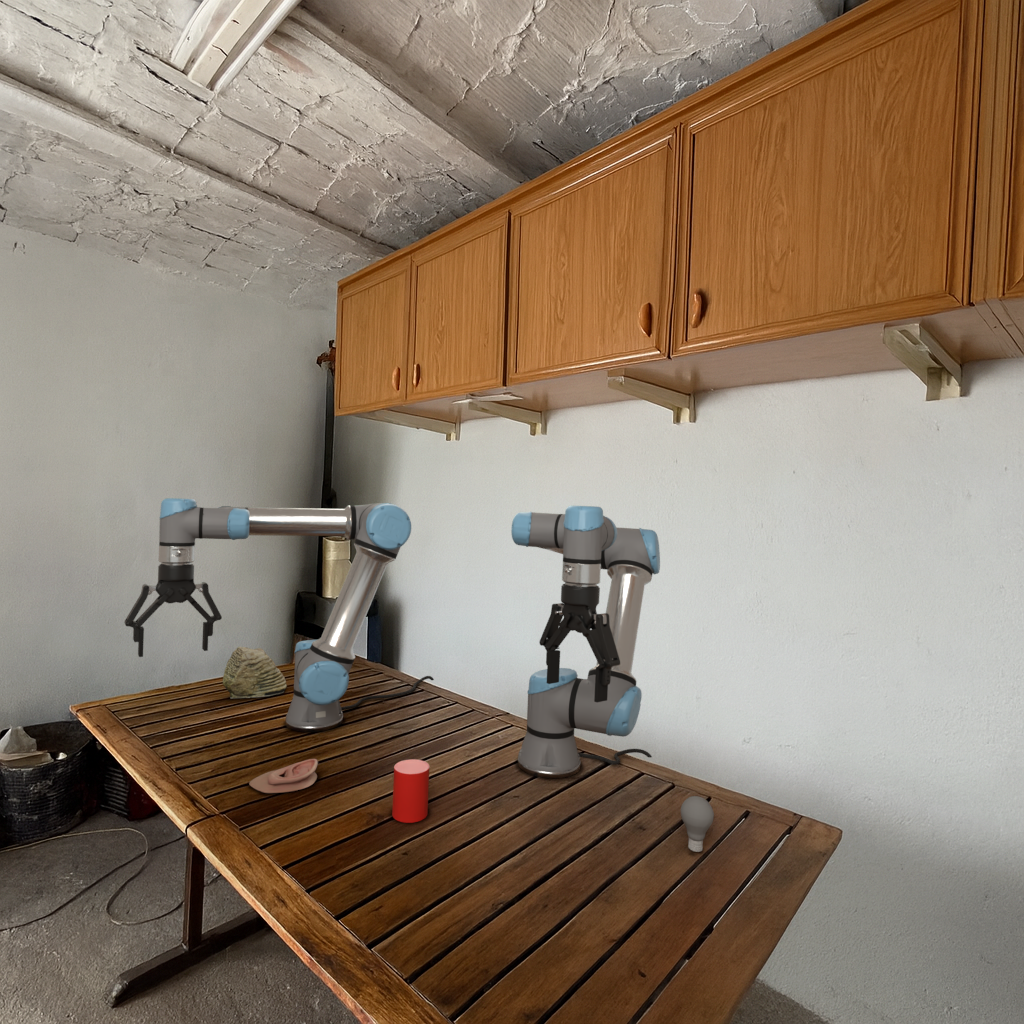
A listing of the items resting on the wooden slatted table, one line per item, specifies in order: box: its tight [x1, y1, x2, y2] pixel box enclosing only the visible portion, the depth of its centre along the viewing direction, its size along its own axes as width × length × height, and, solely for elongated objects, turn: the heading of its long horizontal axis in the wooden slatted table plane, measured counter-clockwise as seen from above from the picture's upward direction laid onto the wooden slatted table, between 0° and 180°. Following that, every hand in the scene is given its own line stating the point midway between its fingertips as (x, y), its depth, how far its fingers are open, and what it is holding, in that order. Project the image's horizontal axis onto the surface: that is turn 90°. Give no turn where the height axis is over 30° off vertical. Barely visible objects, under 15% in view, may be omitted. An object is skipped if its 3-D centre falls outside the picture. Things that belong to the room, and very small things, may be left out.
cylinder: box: [391, 758, 430, 824], centre depth 128 cm, size 7×7×10 cm
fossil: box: [222, 646, 288, 699], centre depth 198 cm, size 9×18×15 cm, turn 132°
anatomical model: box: [248, 758, 319, 794], centre depth 139 cm, size 13×4×12 cm
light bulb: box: [680, 795, 715, 853], centre depth 119 cm, size 6×6×10 cm
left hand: (173, 652), depth 150 cm, fingers open, 13 cm apart
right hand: (575, 691), depth 125 cm, fingers open, 13 cm apart
